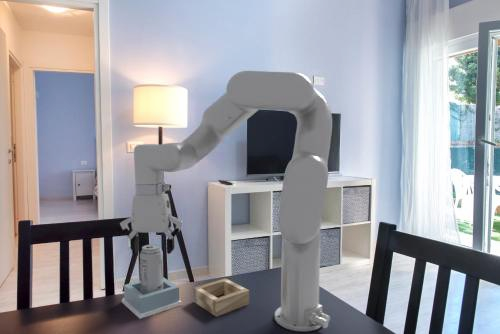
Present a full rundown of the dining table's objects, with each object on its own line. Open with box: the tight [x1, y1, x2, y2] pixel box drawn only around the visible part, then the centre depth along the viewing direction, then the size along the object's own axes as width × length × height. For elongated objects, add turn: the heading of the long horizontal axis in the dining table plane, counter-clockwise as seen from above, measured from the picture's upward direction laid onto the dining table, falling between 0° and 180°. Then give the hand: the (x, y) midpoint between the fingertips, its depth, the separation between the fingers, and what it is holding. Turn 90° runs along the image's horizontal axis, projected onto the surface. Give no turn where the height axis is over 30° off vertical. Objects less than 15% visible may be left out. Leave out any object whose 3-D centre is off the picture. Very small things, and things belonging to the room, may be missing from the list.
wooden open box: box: [193, 278, 250, 318], centre depth 100 cm, size 11×11×4 cm
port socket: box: [121, 276, 183, 320], centre depth 99 cm, size 12×12×5 cm
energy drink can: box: [139, 243, 164, 295], centre depth 98 cm, size 6×6×15 cm
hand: (152, 252), depth 98 cm, fingers open, 9 cm apart
